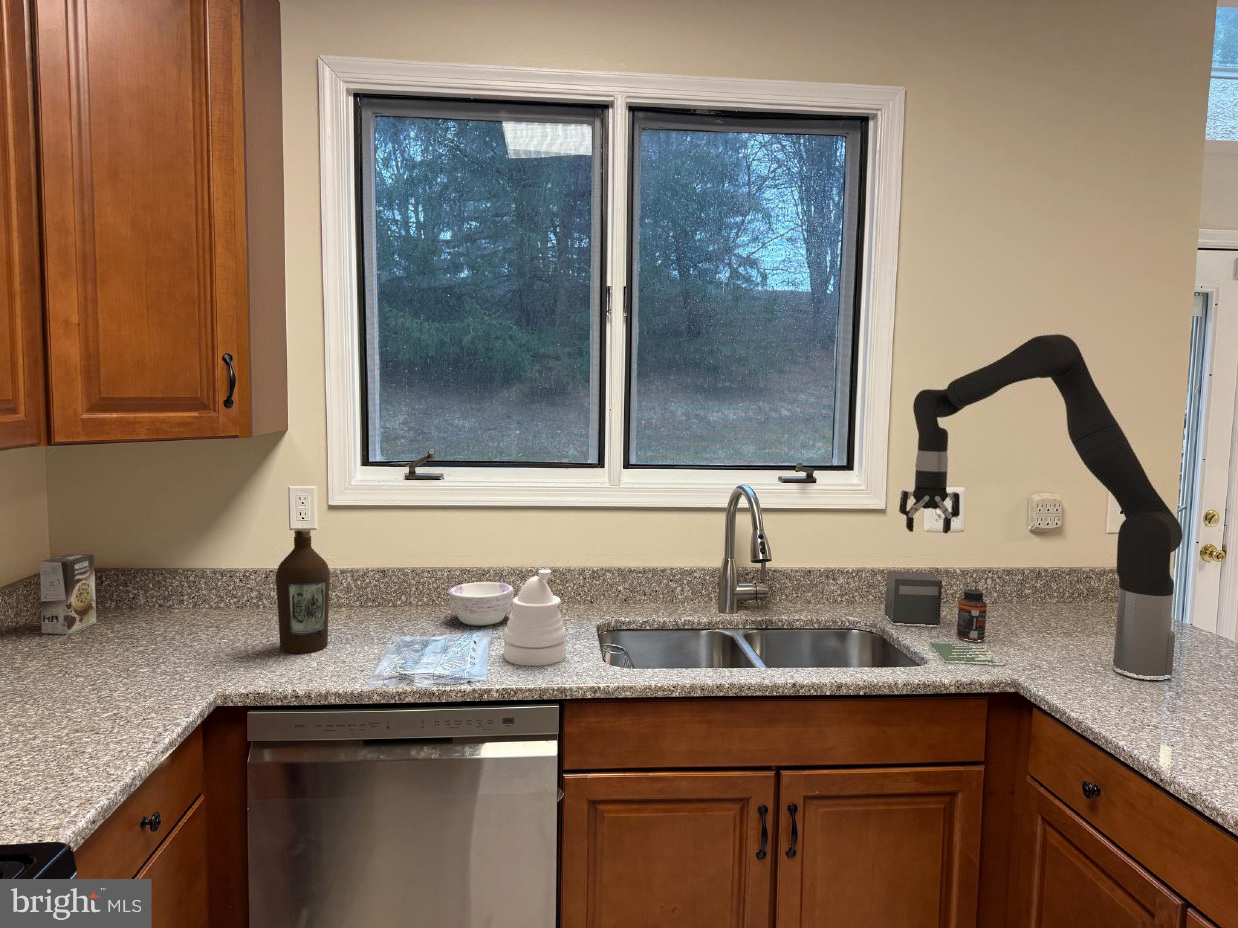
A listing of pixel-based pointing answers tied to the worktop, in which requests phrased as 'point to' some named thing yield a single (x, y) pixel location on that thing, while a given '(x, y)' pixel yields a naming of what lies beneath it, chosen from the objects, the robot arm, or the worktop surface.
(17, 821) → the worktop surface
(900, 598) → the charcoal unit
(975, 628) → the supplement bottle
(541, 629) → the honey pot
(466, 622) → the white and purple bowl
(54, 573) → the coffee box
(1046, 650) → the worktop surface
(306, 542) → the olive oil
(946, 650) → the sage mat
